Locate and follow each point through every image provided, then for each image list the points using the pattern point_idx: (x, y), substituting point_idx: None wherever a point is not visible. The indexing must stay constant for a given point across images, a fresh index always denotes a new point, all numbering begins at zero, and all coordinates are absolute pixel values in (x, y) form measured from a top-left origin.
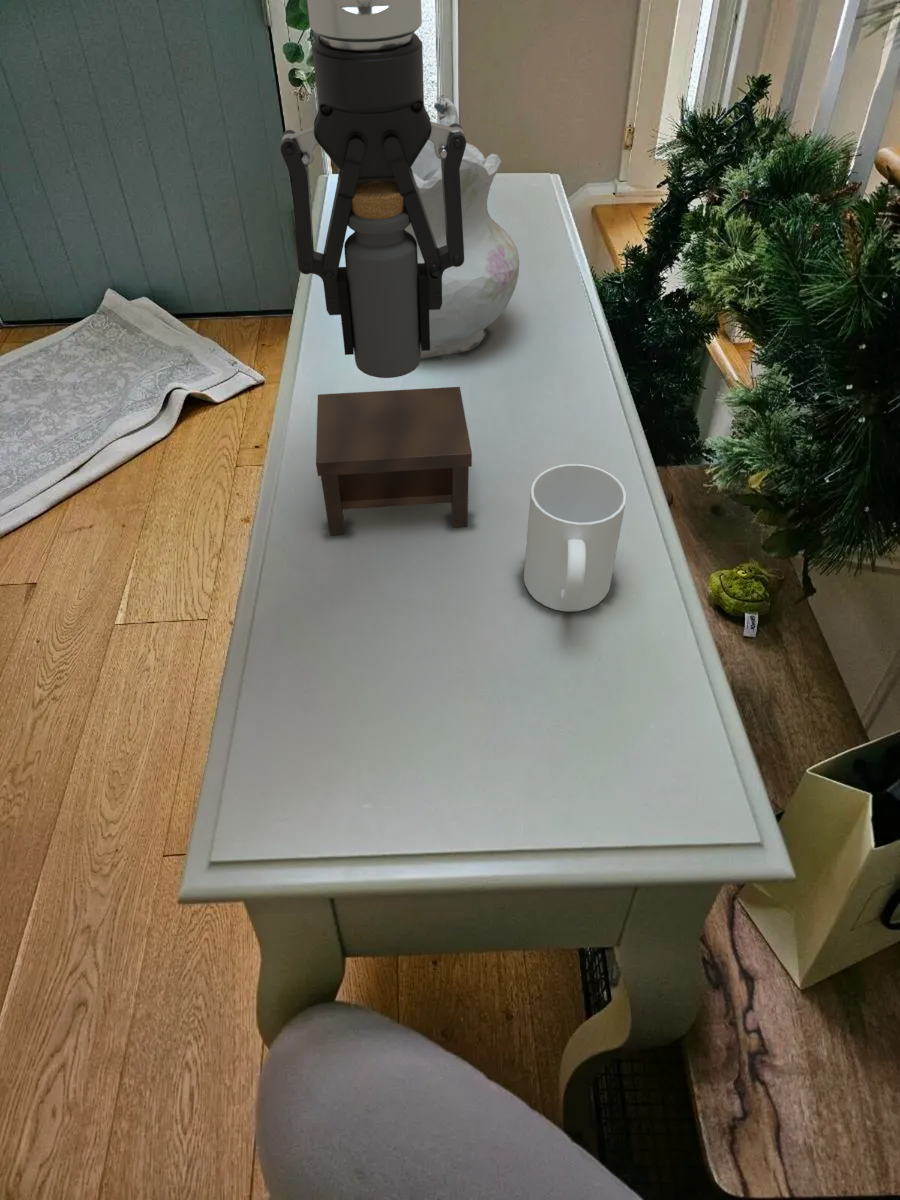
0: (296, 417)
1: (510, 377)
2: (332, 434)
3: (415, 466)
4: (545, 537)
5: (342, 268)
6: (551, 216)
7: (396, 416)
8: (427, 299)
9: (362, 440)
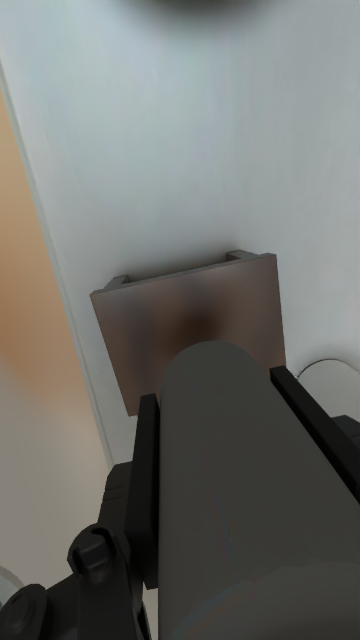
0: (44, 182)
1: (305, 46)
2: (132, 371)
3: None
4: None
5: (140, 533)
6: None
7: (200, 329)
8: None
9: None
